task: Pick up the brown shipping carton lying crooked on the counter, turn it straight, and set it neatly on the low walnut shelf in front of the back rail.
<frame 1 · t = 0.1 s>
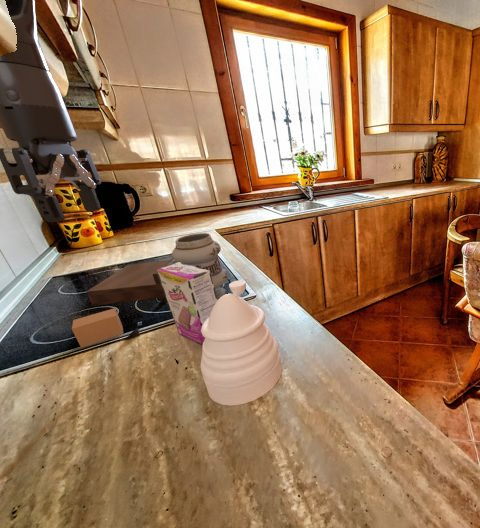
hand: (76, 215, 46), 29 cm above the counter, tool pointing down, fingers open, 8 cm apart
honey pot: (246, 376, 50), on the counter
apothecary jar: (209, 297, 80), on the counter
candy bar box: (202, 336, 62), on the counter
shelf: (149, 290, 85), on the counter
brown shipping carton: (111, 340, 62), on the counter
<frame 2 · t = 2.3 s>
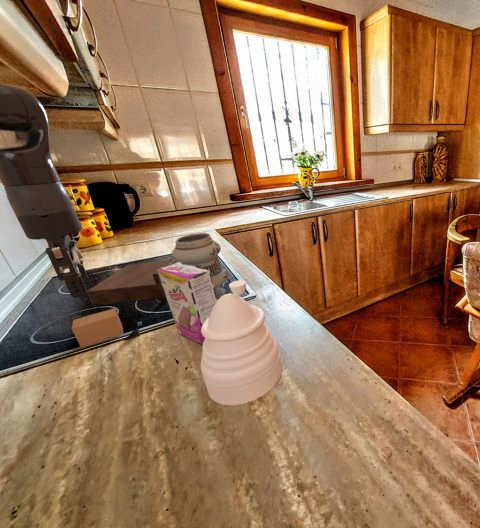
hand: (81, 288, 56), 13 cm above the counter, tool pointing down, fingers open, 8 cm apart
nothing on the counter moved.
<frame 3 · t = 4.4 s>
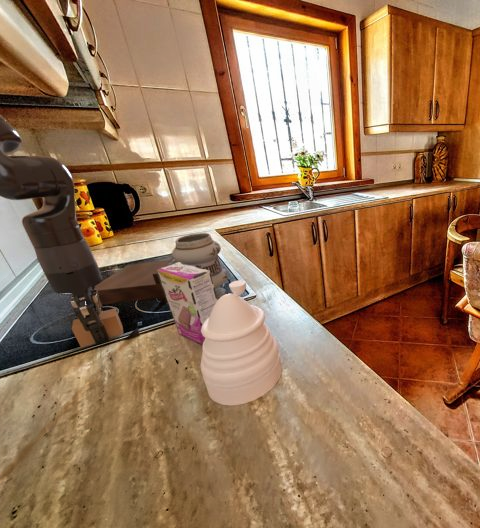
hand: (102, 335, 61), 2 cm above the counter, tool pointing down, fingers closed on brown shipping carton, 4 cm apart
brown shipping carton: (111, 340, 62), on the counter, touching gripper
everything else where it was.
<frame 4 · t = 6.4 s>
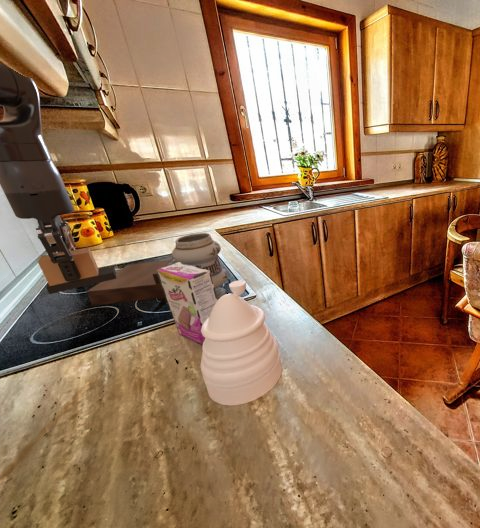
hand: (74, 275, 55), 16 cm above the counter, tool pointing down, fingers closed on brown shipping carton, 4 cm apart
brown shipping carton: (85, 282, 57), point 15 cm above the counter, touching gripper
everything else where it was.
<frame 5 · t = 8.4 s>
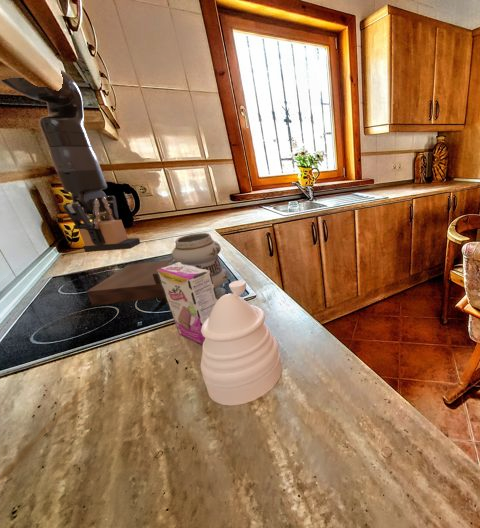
hand: (106, 240, 68), 19 cm above the counter, tool pointing down, fingers closed on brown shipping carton, 4 cm apart
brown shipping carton: (114, 247, 69), point 17 cm above the counter, touching gripper
everything else where it was.
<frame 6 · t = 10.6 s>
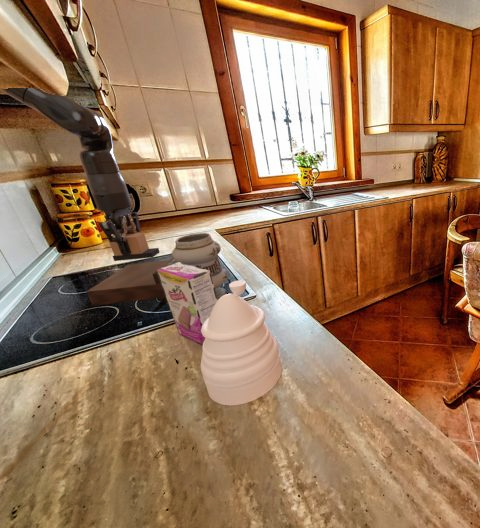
hand: (131, 251, 80), 13 cm above the counter, tool pointing down, fingers closed on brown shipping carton, 4 cm apart
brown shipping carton: (137, 256, 81), point 11 cm above the counter, touching gripper
everything else where it was.
when the fingers open (8 cm above the counter, at t = 12.3 s): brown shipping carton stays where it is, resting on shelf.
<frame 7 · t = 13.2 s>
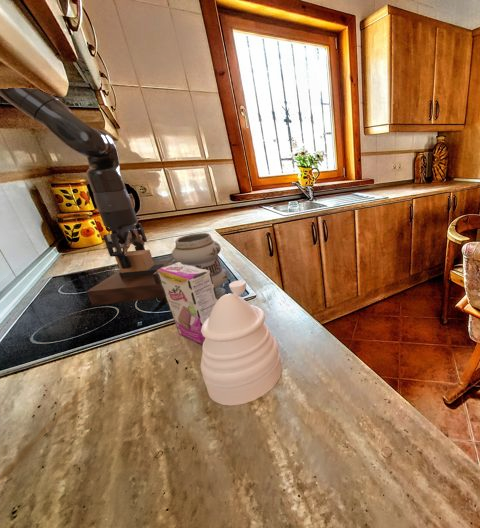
hand: (135, 262, 81), 9 cm above the counter, tool pointing down, fingers open, 8 cm apart
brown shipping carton: (143, 273, 83), point 6 cm above the counter, touching shelf
everything else where it was.
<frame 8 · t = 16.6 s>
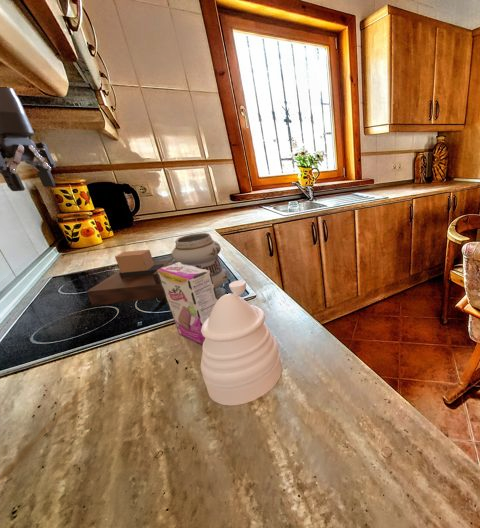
hand: (35, 188, 66), 32 cm above the counter, tool pointing down, fingers open, 8 cm apart
nothing on the counter moved.
at the end: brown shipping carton inside the target area on the shelf (0.1 cm from its centre), point 6.0 cm above the shelf's base; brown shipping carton tilted 0°; the gripper is holding nothing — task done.
